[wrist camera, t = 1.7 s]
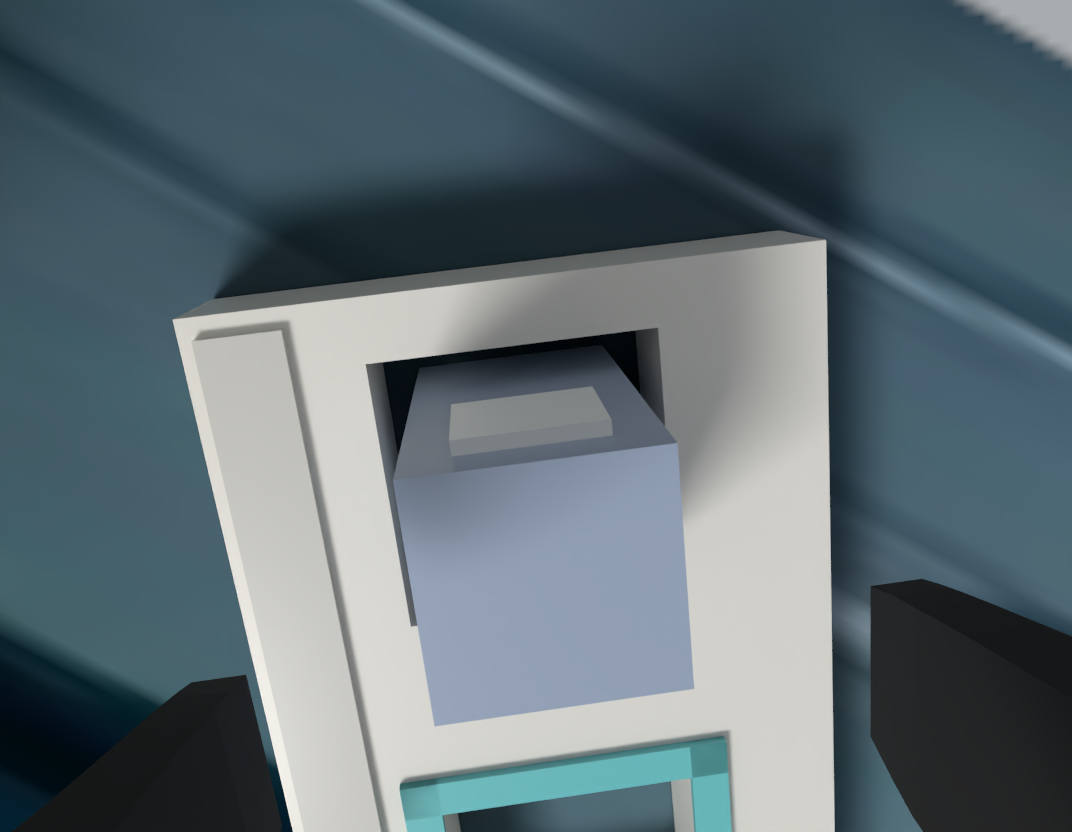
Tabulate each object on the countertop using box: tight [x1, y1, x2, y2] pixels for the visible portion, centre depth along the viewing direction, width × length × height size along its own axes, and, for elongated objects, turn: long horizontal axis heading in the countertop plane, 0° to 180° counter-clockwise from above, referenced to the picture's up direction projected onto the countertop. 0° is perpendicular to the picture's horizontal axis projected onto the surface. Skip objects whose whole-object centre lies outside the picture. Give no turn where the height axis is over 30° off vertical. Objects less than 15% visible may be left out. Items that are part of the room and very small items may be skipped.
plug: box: [393, 345, 694, 726], centre depth 16 cm, size 4×4×7 cm
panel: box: [173, 230, 835, 832], centre depth 19 cm, size 12×18×3 cm, turn 6°
